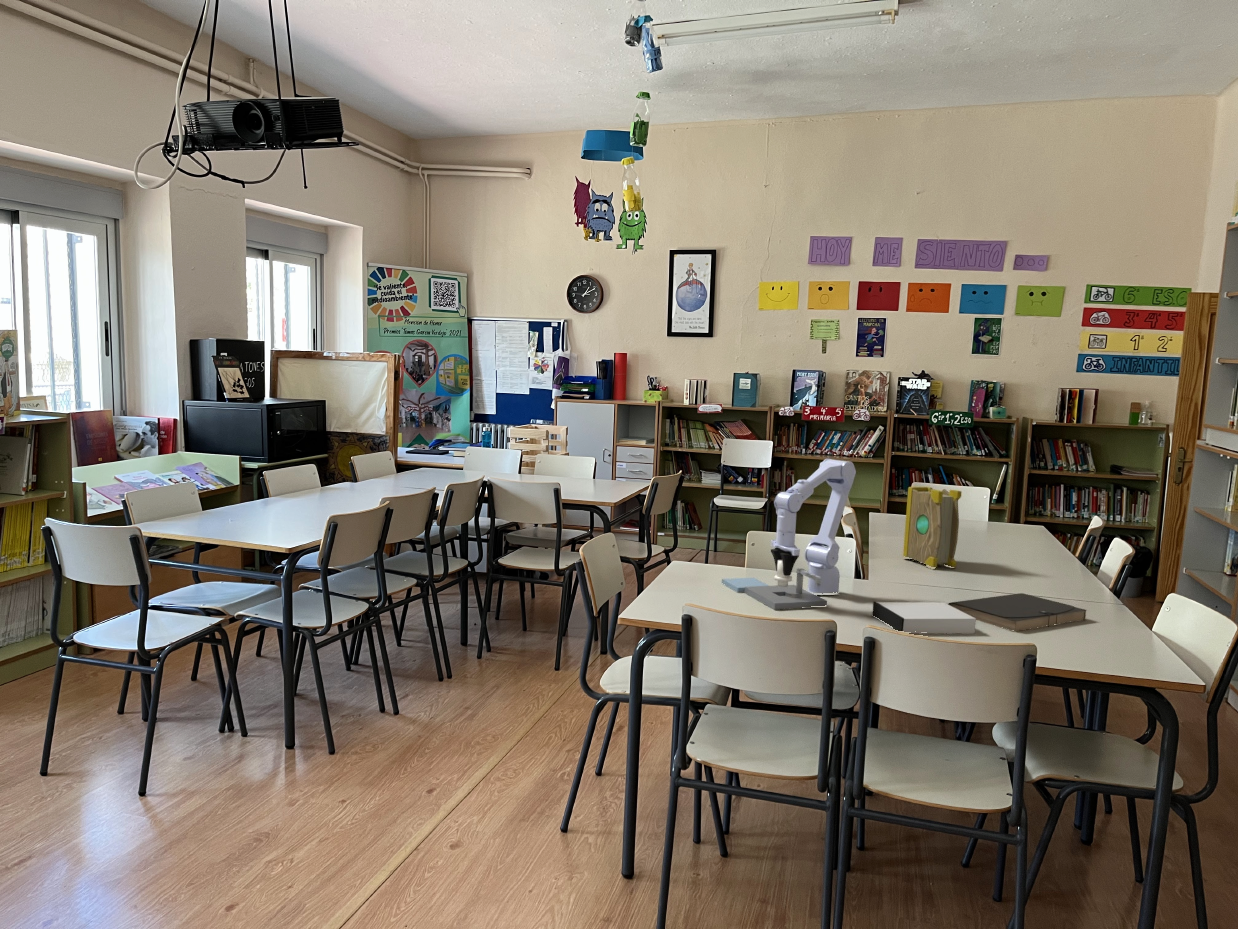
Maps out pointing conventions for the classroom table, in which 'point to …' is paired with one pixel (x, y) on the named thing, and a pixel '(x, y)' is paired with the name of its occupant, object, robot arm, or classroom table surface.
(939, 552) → the decorative book
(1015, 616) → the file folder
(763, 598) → the grey socket base
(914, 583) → the classroom table surface
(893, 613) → the disc drive
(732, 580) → the mat
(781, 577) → the plug
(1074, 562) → the classroom table surface
